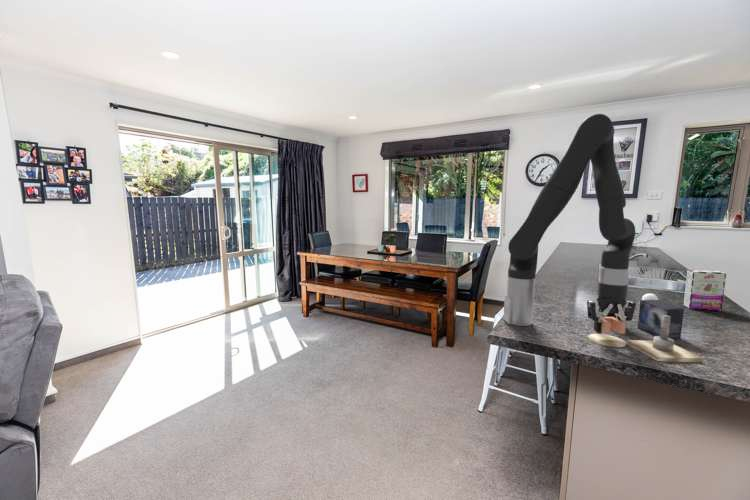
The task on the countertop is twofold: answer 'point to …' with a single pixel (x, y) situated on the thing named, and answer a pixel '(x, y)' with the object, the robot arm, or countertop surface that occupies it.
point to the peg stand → (664, 347)
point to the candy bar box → (704, 289)
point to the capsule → (649, 297)
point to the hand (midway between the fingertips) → (608, 332)
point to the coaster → (607, 340)
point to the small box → (660, 317)
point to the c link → (613, 325)
